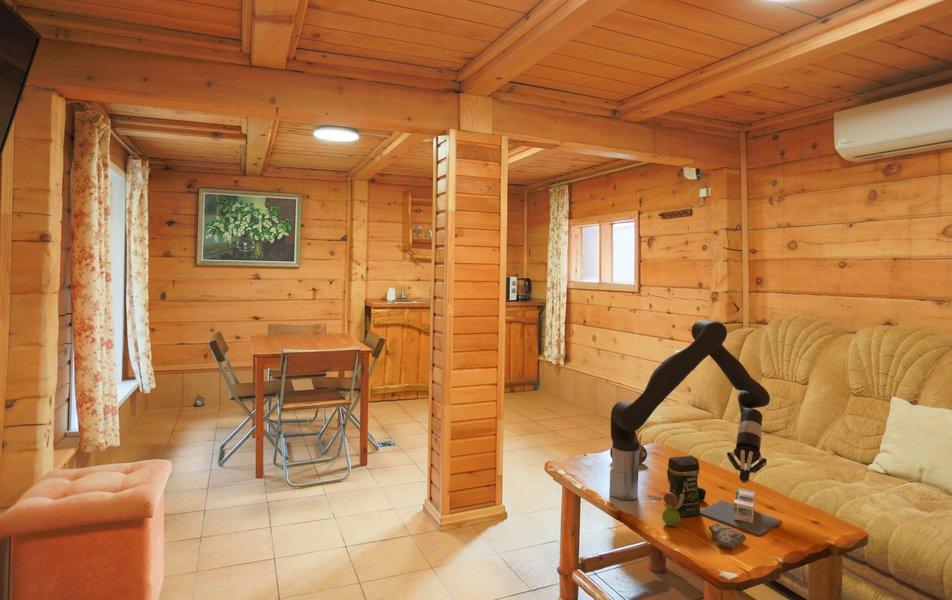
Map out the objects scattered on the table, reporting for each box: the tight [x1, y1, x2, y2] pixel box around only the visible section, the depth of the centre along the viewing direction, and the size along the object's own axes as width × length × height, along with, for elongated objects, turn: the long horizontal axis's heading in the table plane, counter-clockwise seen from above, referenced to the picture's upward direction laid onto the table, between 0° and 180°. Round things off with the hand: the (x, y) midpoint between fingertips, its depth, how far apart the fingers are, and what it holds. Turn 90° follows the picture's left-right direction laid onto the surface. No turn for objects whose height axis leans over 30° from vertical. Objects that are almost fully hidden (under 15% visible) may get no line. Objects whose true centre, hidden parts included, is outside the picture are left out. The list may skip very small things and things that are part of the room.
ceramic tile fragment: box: [708, 523, 747, 551], centre depth 168 cm, size 12×3×10 cm
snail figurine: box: [661, 490, 685, 527], centre depth 177 cm, size 5×6×12 cm
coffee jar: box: [667, 455, 701, 517], centre depth 187 cm, size 10×8×19 cm
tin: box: [609, 444, 648, 465], centre depth 235 cm, size 15×3×8 cm, turn 90°
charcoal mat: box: [698, 499, 783, 537], centre depth 184 cm, size 16×20×1 cm
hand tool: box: [666, 469, 707, 502], centre depth 208 cm, size 23×5×6 cm, turn 6°
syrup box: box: [733, 487, 756, 523], centre depth 186 cm, size 6×6×14 cm
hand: (743, 481), depth 189 cm, fingers closed
